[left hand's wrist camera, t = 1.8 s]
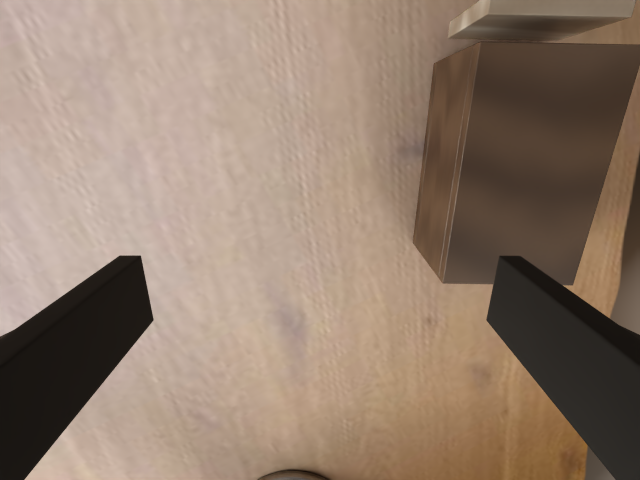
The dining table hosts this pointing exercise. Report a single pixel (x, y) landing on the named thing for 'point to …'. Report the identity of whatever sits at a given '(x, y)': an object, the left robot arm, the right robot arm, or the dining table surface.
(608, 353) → the left robot arm
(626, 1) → the drawer
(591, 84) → the cabinet
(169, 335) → the dining table surface
